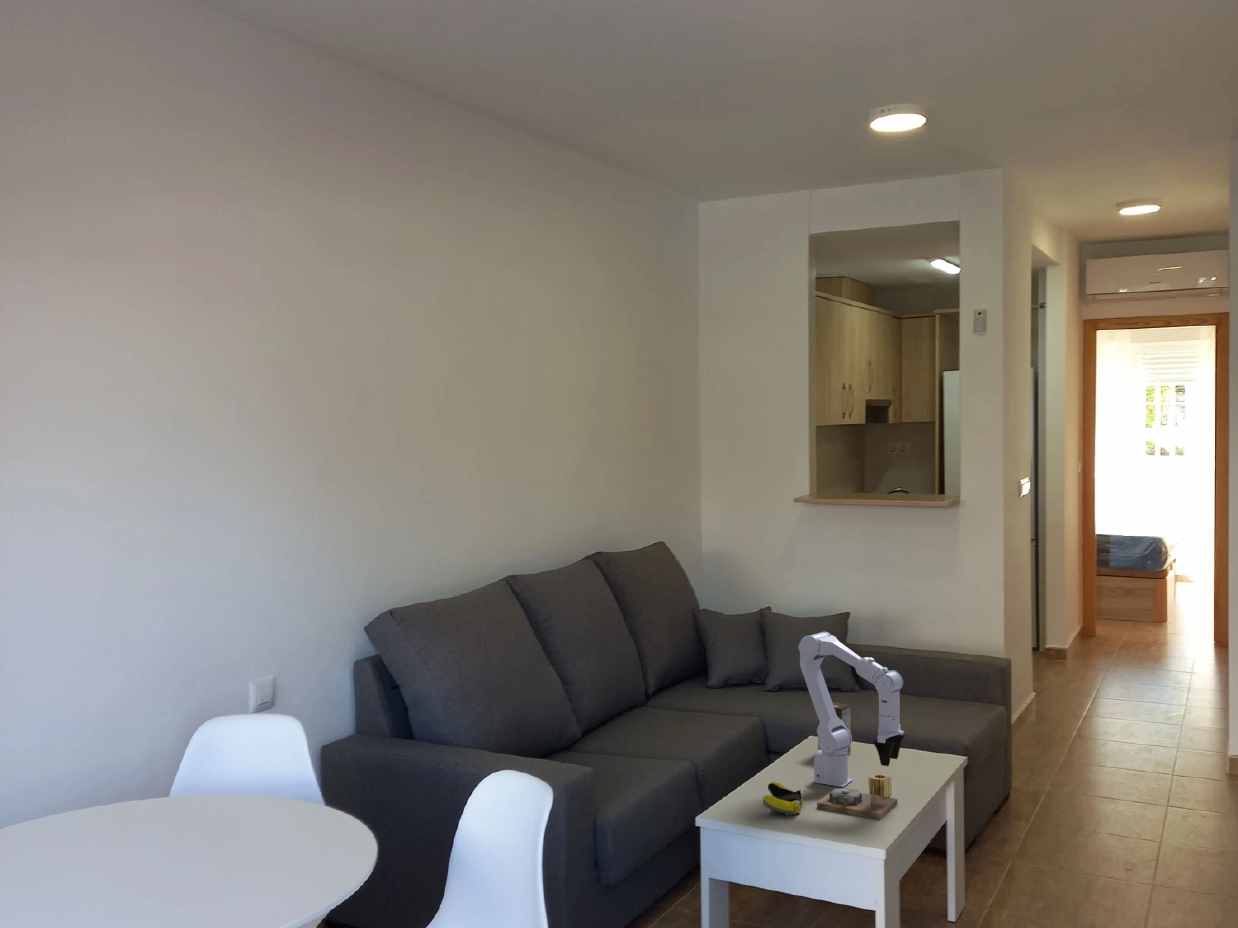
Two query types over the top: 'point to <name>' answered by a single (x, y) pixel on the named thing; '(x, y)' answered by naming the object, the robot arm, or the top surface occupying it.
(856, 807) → the gear board
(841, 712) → the coffee box
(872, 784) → the wooden gear
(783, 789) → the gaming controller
